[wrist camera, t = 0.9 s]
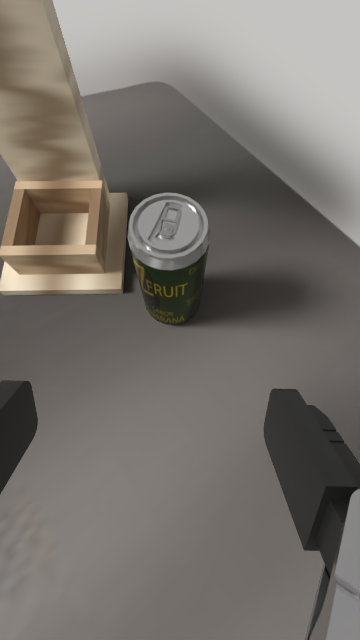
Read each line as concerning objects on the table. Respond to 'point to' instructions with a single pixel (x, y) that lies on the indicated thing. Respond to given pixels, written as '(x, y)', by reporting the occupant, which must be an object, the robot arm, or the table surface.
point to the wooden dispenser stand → (52, 167)
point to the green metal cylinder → (169, 254)
